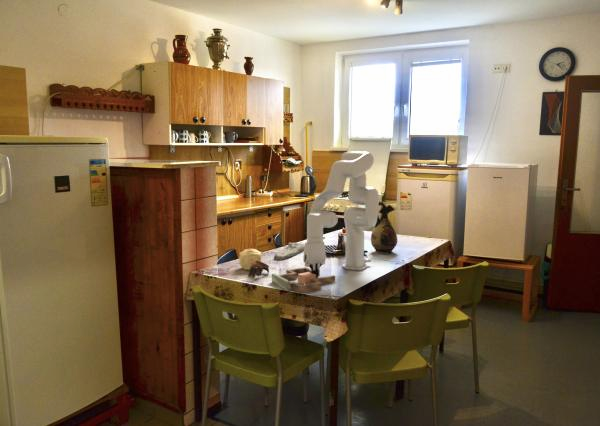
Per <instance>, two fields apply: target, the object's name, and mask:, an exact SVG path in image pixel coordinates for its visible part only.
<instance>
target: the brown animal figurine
mask: <svg viewBox="0 0 600 426" xmlns="http://www.w3.org/2000/svg"><path fill="white" fill-rule="evenodd" d="M256 267H257V268H256ZM269 267H270V265H268V263H265V262H263V261H261V262H260V261H256V262H255V263H253V264H252V265H251V268H250V270H248V272H249V273H248V276H250V277H252V278H256V276H257V277H261V276H262V272H263V271H266V272H267V273H266V274H267V275H269V274H270V269H269Z"/></svg>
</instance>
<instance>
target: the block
mask: <svg viewBox="0 0 600 426" xmlns="http://www.w3.org/2000/svg"><path fill="white" fill-rule="evenodd" d="M314 278H316V275H315V274H312V273H310V272H306V273H300V274H298V278H297V283H299V282H300V283H299V284H301V283H302V284H301V285H304V284H310V279H314Z"/></svg>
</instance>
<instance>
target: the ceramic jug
mask: <svg viewBox="0 0 600 426" xmlns="http://www.w3.org/2000/svg"><path fill="white" fill-rule="evenodd" d="M380 206H381V207H382V208H380V209H379V210H378V213H380V214H381V216H380V217H379V215H378V217H377V222H376V224H375V226H373V227H374V228H373V229H372V231H371V236H370V243H371V244H370V245H372V247H373V249H374V250H375V253H377V254H382V255H391V254H392V253H393V251H394V250H395V248H396V247H397V244H398V236H397V235H398V234H397V231H396V229H395V227H394V225H393V223H392V222H391V221H390V219H389V217H388V214H389V213H392V212H394V211H396V208H394V207H393V206H392V205H391V204H388V205H387V206H386V204H385V203H384V202H383V201H379V205H378V207H380Z"/></svg>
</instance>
